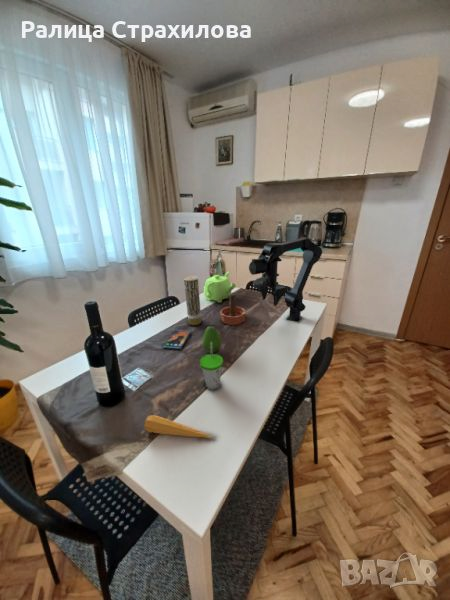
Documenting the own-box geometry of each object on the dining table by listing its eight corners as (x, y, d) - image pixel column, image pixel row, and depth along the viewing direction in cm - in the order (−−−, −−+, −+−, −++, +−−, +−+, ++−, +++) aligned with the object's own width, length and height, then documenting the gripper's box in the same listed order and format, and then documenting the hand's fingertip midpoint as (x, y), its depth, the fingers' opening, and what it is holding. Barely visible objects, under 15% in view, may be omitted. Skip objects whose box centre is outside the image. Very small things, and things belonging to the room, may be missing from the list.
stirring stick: (232, 316, 131) (231, 292, 126) (238, 317, 128) (238, 293, 123) (227, 319, 128) (226, 294, 122) (234, 321, 125) (233, 296, 120)
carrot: (144, 433, 67) (140, 427, 64) (150, 416, 70) (147, 410, 67) (213, 449, 64) (212, 445, 61) (216, 431, 67) (216, 426, 64)
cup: (215, 396, 78) (213, 358, 72) (197, 387, 82) (193, 351, 76) (228, 382, 84) (227, 346, 78) (210, 374, 88) (207, 339, 82)
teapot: (226, 308, 142) (225, 283, 136) (198, 301, 153) (196, 278, 147) (246, 295, 161) (246, 272, 155) (220, 290, 173) (219, 268, 166)
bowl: (229, 312, 137) (229, 304, 135) (249, 318, 130) (249, 309, 128) (215, 321, 127) (215, 313, 125) (236, 328, 120) (236, 319, 118)
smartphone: (162, 346, 104) (175, 329, 118) (163, 349, 105) (175, 331, 118) (180, 347, 103) (191, 329, 116) (180, 350, 103) (191, 332, 117)
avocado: (207, 358, 97) (205, 332, 92) (200, 348, 104) (198, 324, 99) (224, 353, 100) (223, 328, 96) (217, 344, 107) (216, 320, 102)
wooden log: (186, 324, 125) (181, 279, 115) (192, 319, 130) (188, 275, 121) (197, 326, 122) (193, 280, 113) (203, 321, 128) (200, 276, 118)
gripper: (245, 269, 115) (245, 299, 121) (267, 279, 99) (266, 313, 105) (265, 266, 119) (263, 295, 125) (289, 275, 103) (286, 308, 109)
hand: (269, 302), depth 116 cm, fingers open, 9 cm apart
